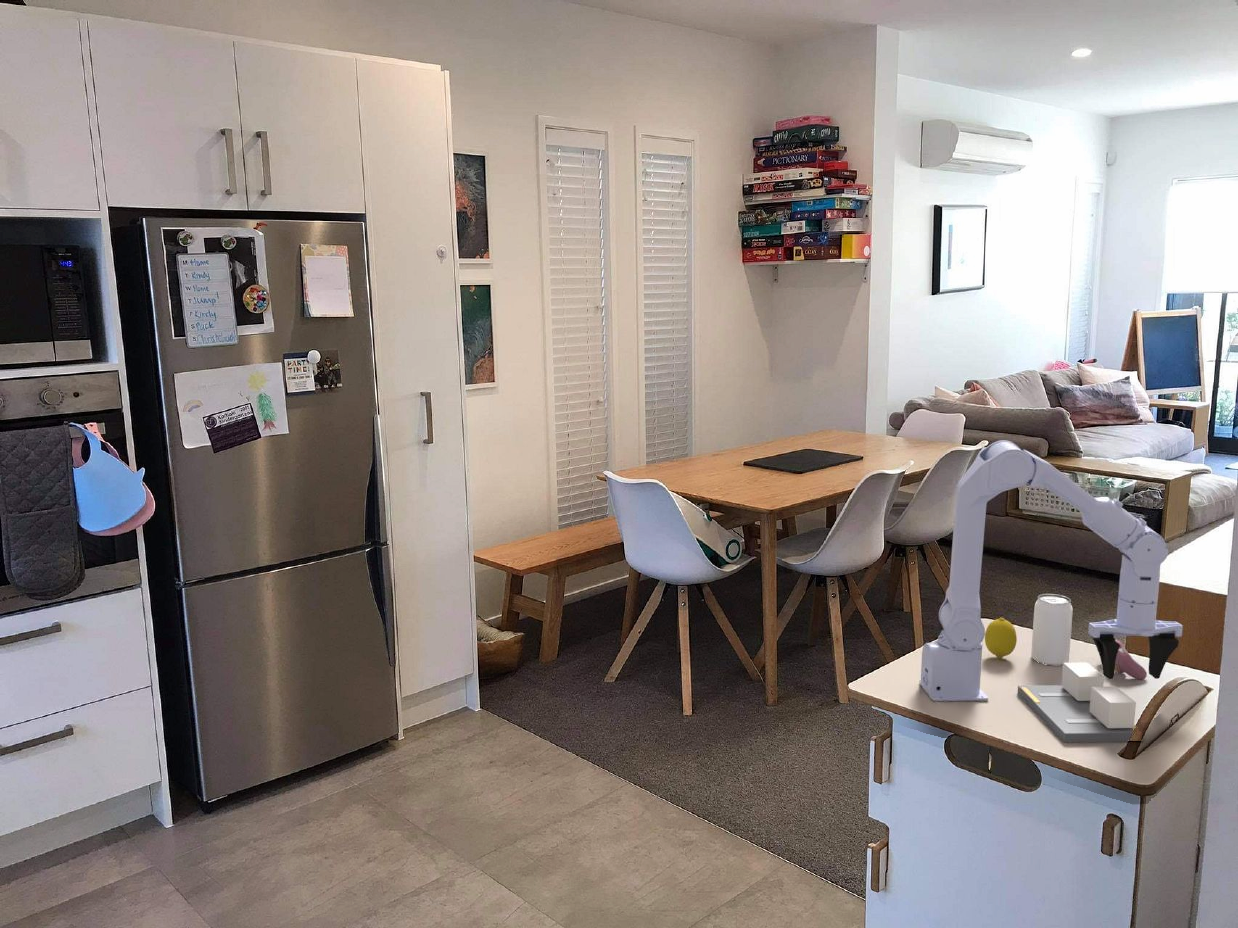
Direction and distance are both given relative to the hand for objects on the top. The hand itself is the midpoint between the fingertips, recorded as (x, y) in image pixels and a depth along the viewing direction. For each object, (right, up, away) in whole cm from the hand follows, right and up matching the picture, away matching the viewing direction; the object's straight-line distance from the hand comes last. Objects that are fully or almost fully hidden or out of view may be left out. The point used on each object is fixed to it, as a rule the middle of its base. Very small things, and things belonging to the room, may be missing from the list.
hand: (1131, 676), depth 163 cm
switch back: (-8, -3, +1) cm, 9 cm away
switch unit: (-11, -6, -4) cm, 13 cm away
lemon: (-14, -1, +21) cm, 25 cm away
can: (-5, -1, +20) cm, 20 cm away
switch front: (-8, -5, -9) cm, 13 cm away
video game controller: (+6, -2, +15) cm, 16 cm away
